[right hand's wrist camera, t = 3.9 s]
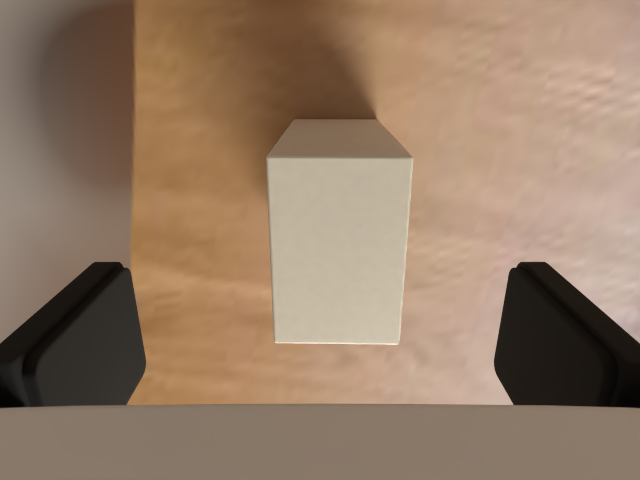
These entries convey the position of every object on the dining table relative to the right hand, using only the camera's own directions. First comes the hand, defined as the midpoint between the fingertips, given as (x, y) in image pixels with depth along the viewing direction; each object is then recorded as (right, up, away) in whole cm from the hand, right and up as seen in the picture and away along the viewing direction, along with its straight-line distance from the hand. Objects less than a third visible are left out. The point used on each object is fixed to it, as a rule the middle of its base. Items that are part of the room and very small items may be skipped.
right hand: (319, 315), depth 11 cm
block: (+1, +5, +14) cm, 15 cm away
